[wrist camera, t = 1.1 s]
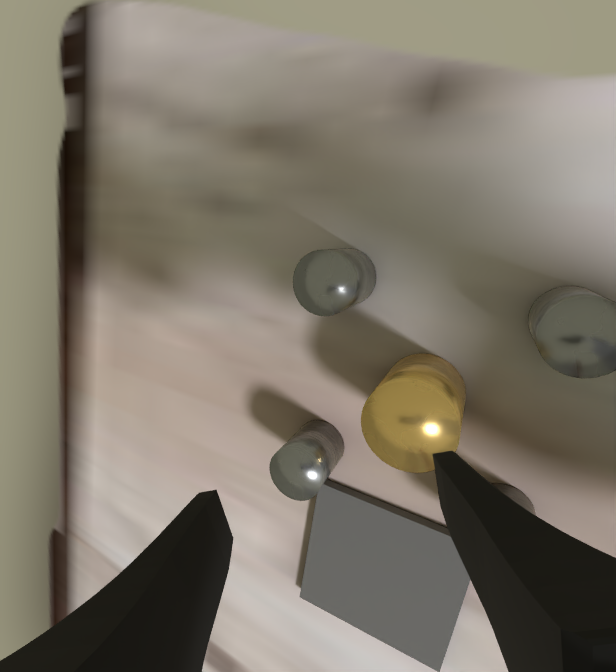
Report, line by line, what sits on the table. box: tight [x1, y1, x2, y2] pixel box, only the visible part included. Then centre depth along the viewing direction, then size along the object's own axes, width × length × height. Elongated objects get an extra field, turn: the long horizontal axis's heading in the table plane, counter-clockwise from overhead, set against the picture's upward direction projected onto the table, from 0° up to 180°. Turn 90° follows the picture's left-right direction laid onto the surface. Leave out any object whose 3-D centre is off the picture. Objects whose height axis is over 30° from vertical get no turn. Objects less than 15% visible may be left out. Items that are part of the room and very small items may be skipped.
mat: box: [300, 479, 470, 672], centre depth 26 cm, size 10×10×1 cm
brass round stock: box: [361, 353, 466, 473], centre depth 20 cm, size 4×4×5 cm
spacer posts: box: [270, 249, 616, 516], centre depth 20 cm, size 14×14×4 cm
